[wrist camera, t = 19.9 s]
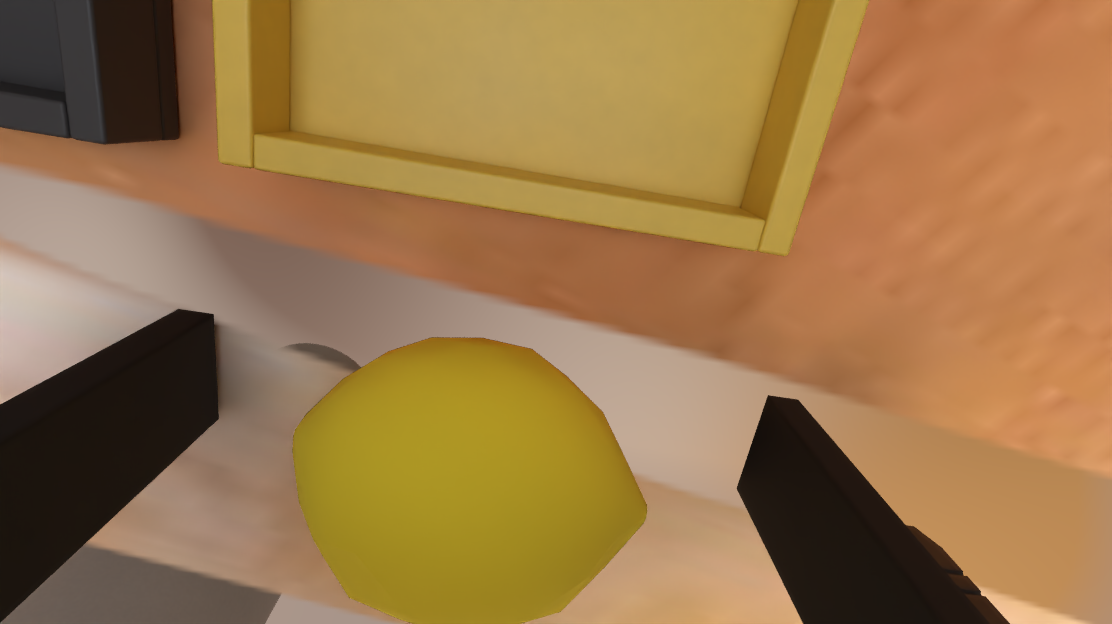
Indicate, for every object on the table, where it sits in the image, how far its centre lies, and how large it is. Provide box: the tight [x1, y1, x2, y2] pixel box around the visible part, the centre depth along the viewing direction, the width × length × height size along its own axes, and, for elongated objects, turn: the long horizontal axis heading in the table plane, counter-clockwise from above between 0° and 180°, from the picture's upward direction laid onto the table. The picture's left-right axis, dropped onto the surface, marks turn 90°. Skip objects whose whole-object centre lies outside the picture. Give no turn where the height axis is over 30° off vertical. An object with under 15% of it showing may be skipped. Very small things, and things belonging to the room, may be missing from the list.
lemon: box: [292, 337, 647, 624], centre depth 11 cm, size 7×5×5 cm
